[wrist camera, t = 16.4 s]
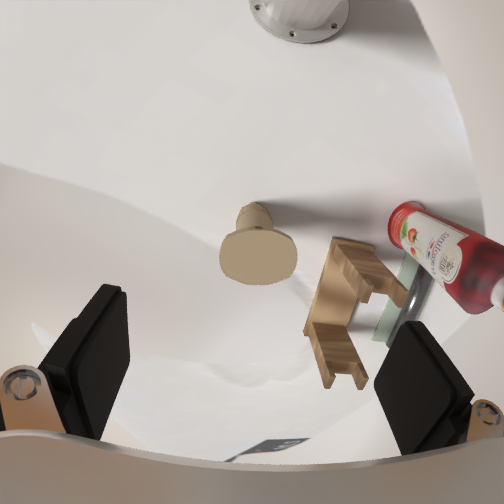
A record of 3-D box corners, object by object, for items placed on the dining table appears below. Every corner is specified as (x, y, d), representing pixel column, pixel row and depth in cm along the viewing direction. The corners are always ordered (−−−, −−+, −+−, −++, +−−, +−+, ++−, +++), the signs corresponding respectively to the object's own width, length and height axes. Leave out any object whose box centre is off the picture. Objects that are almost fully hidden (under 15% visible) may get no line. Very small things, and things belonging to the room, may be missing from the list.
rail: (417, 256, 43) (427, 264, 40) (431, 259, 43) (441, 267, 41) (383, 340, 48) (390, 350, 45) (396, 341, 48) (403, 351, 46)
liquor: (416, 252, 43) (543, 367, 17) (375, 242, 42) (503, 372, 16) (431, 205, 41) (581, 292, 14) (391, 192, 40) (549, 281, 14)
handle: (277, 232, 42) (294, 285, 28) (227, 231, 41) (219, 284, 27) (279, 195, 40) (299, 231, 26) (227, 194, 40) (219, 229, 26)
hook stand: (332, 236, 42) (366, 278, 30) (371, 245, 42) (414, 287, 30) (303, 331, 47) (319, 391, 35) (339, 335, 48) (363, 393, 36)
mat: (406, 251, 43) (407, 252, 43) (440, 259, 44) (441, 260, 43) (371, 339, 48) (372, 340, 48) (405, 342, 49) (406, 343, 49)
